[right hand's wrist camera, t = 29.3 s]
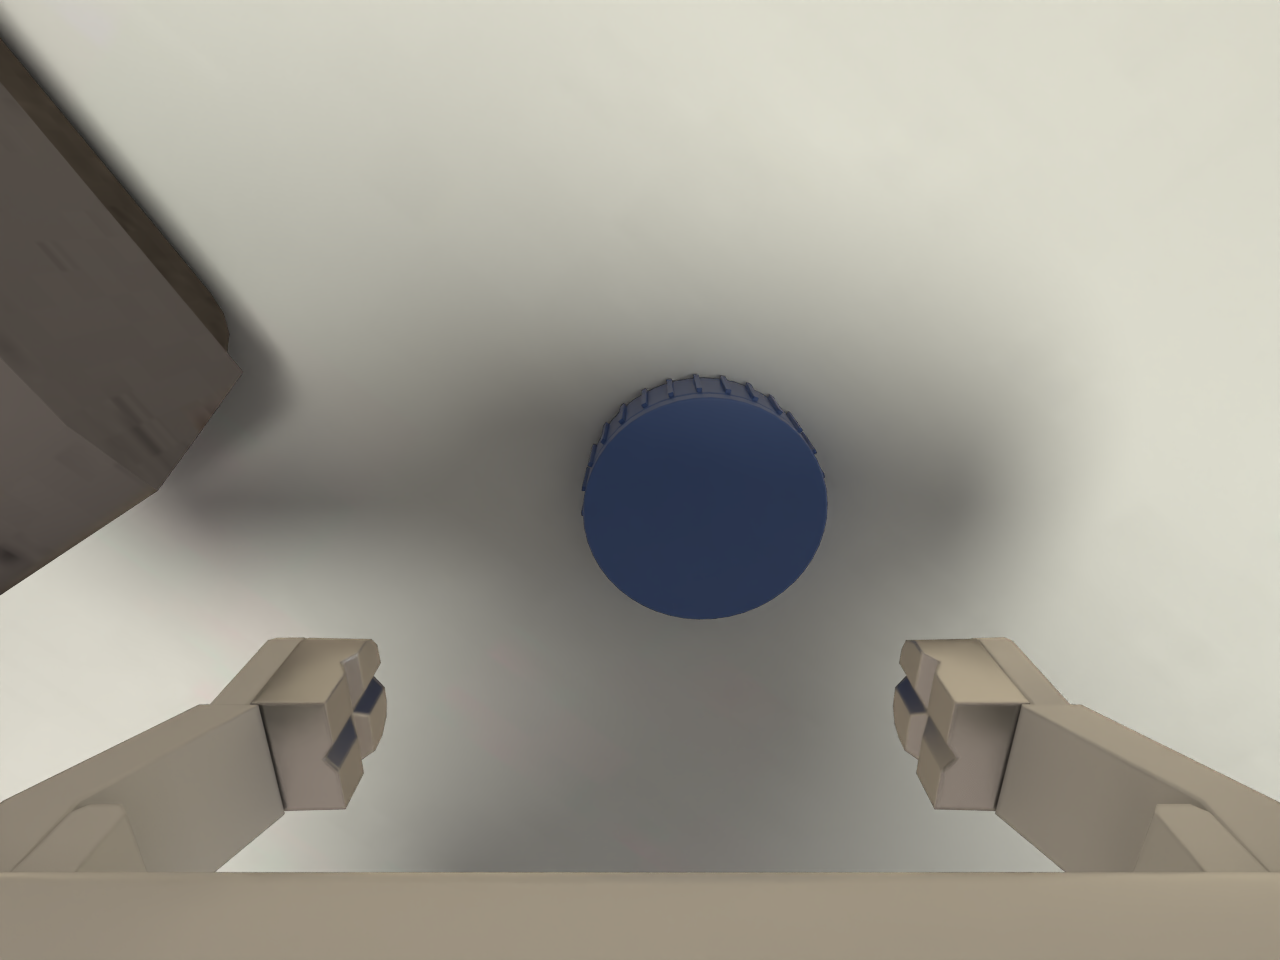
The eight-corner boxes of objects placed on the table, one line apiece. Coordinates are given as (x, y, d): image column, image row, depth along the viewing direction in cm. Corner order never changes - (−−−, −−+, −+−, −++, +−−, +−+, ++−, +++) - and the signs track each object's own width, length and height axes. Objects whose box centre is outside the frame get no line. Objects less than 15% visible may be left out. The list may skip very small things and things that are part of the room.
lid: (767, 604, 16) (780, 646, 15) (563, 553, 16) (554, 590, 14) (847, 410, 15) (871, 434, 13) (619, 345, 14) (615, 362, 13)
